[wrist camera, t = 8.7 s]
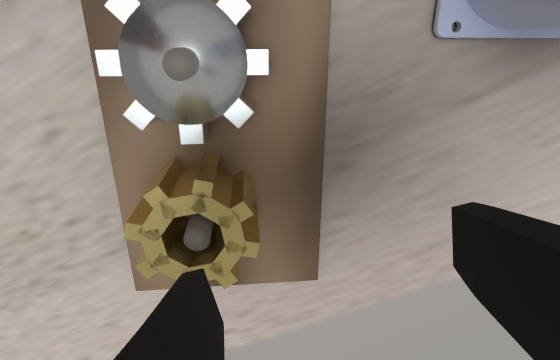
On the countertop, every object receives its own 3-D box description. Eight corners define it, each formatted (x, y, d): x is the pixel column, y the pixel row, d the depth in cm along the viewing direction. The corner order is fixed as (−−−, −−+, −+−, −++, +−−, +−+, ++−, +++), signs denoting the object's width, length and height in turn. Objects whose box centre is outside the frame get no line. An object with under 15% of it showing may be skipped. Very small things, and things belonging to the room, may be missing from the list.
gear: (264, -23, 15) (266, -33, 13) (266, 130, 18) (269, 142, 16) (101, -26, 15) (78, -37, 13) (128, 134, 17) (112, 146, 15)
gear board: (326, -7, 17) (354, -24, 12) (314, 270, 22) (330, 321, 18) (88, -11, 16) (30, -30, 11) (140, 280, 22) (115, 336, 17)
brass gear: (263, 236, 20) (267, 280, 16) (167, 255, 20) (149, 303, 16) (244, 144, 18) (244, 170, 14) (136, 163, 18) (107, 195, 14)
